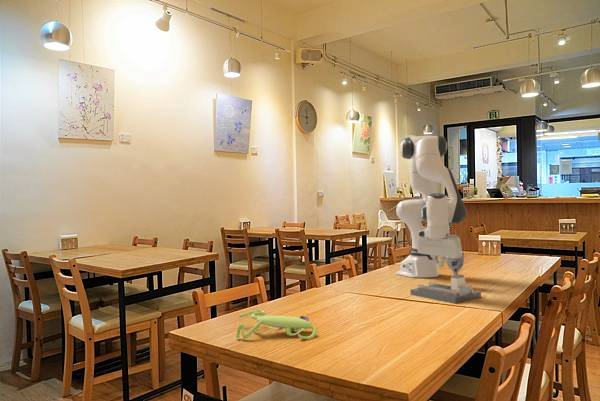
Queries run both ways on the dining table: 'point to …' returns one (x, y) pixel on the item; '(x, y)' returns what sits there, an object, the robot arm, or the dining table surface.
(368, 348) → the dining table surface
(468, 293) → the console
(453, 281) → the fader tab
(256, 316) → the figurine
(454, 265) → the wine glass
